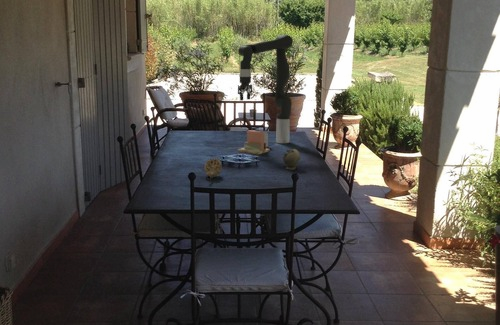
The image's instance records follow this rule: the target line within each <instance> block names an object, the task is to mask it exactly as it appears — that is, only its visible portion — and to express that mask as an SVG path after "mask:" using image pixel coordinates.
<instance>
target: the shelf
mask: <svg viewBox="0 0 500 325" xmlns="http://www.w3.org/2000/svg"><path fill="white" fill-rule="evenodd" d="M243 144H244V147H241V148H238V149H237V152H238V153H239V152H240V153H245V152H246V154H253V155H261V154H264V153H268V152H270V151H271V149H270V148H268V147H266V143H264V150H262V151H261V144H256V143H248V142H247V141H245V142H244V143H243Z"/></svg>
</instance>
